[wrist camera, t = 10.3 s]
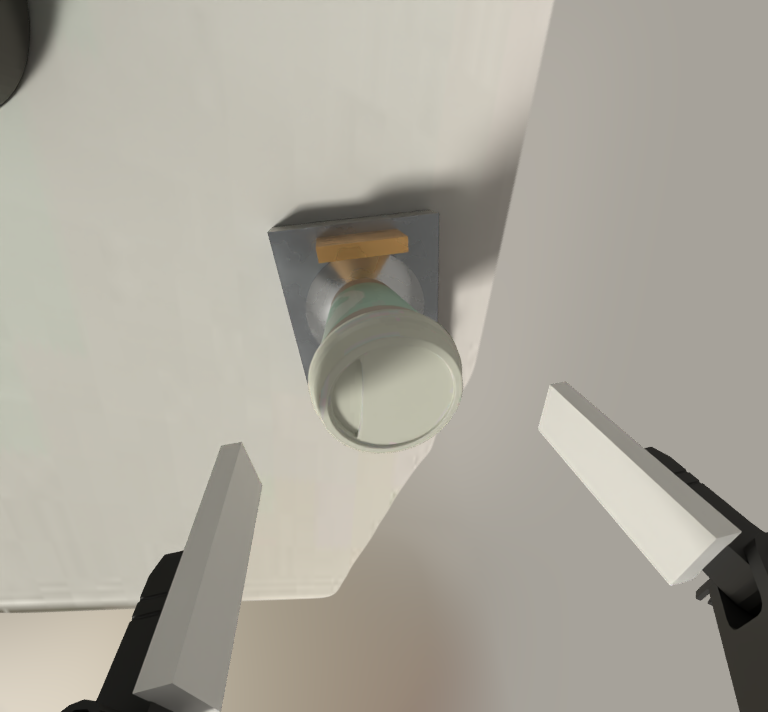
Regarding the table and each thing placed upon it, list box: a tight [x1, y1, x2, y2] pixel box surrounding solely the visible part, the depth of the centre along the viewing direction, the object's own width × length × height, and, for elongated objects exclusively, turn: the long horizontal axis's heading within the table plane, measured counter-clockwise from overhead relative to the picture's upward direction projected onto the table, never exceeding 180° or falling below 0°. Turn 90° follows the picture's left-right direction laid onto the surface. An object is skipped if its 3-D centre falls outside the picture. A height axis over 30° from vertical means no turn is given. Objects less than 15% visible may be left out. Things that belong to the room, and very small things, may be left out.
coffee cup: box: [308, 278, 463, 453], centre depth 20 cm, size 8×9×12 cm
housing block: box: [268, 210, 439, 383], centre depth 25 cm, size 14×13×6 cm
